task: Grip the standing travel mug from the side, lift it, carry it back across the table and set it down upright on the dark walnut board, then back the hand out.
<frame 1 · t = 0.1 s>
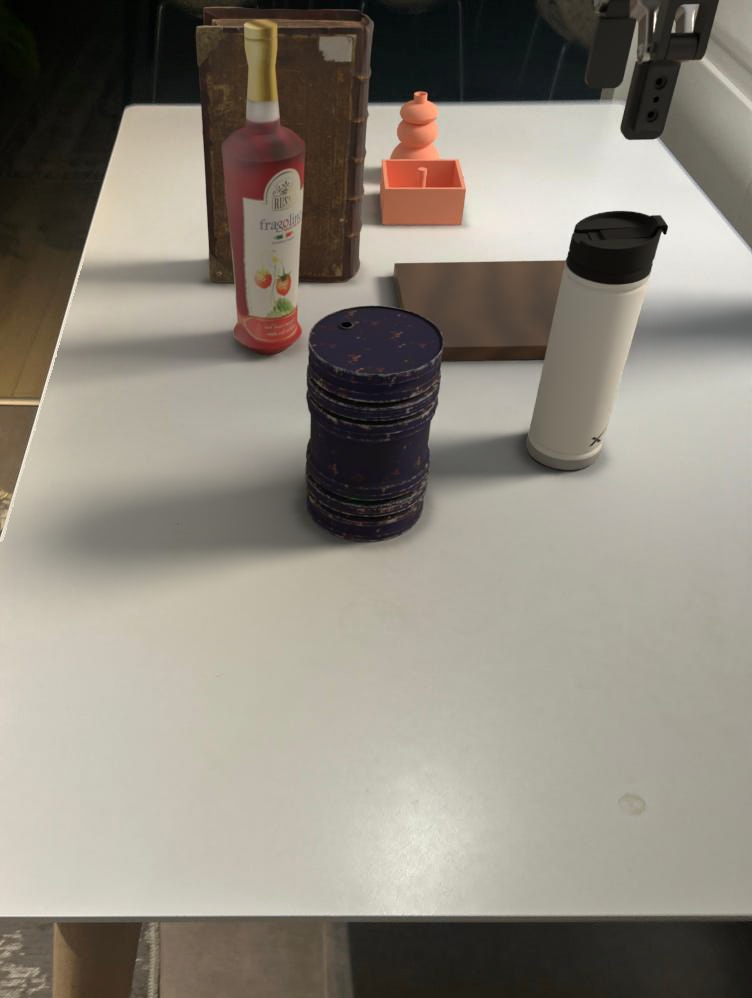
hand: (619, 110, 56), 30 cm above the table, tool pointing down, fingers open, 8 cm apart
pottery: (416, 195, 121), on the table
book: (285, 275, 107), on the table
liquor: (267, 344, 97), on the table
travel mug: (563, 451, 84), on the table
walnut board: (496, 314, 100), on the table
dark blue cylinder: (364, 505, 79), on the table
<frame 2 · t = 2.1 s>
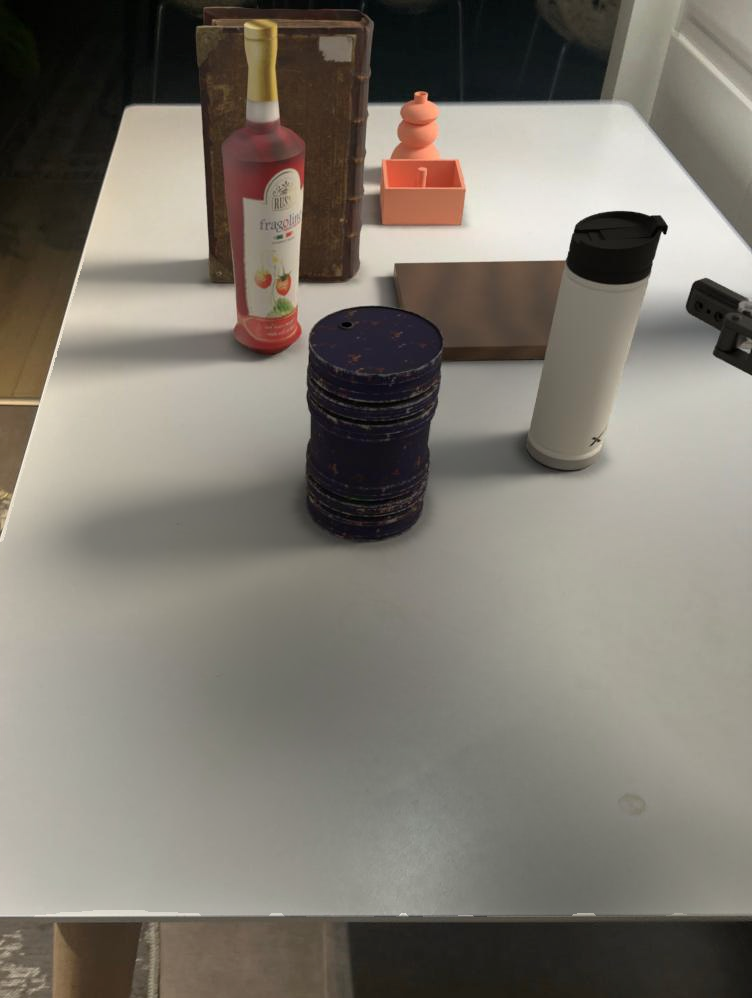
hand: (739, 277, 62), 20 cm above the table, tool horizontal, fingers open, 8 cm apart
nothing on the table moved.
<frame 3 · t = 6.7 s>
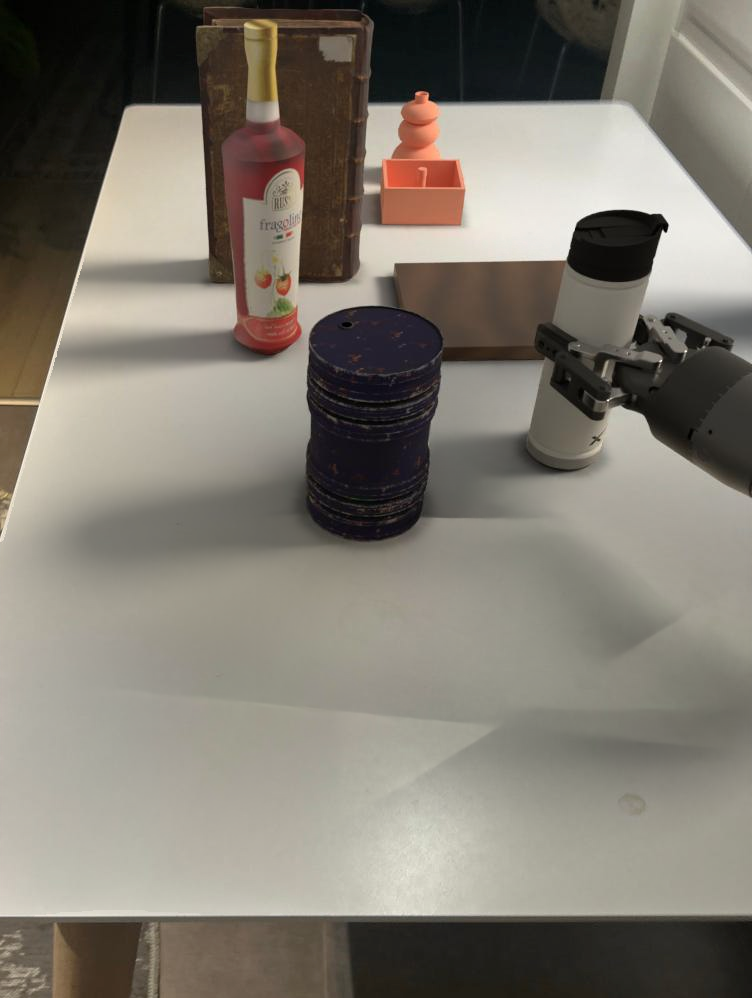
hand: (571, 322, 77), 11 cm above the table, tool horizontal, fingers closed on travel mug, 6 cm apart
travel mug: (563, 451, 84), on the table, touching gripper
everything else where it was.
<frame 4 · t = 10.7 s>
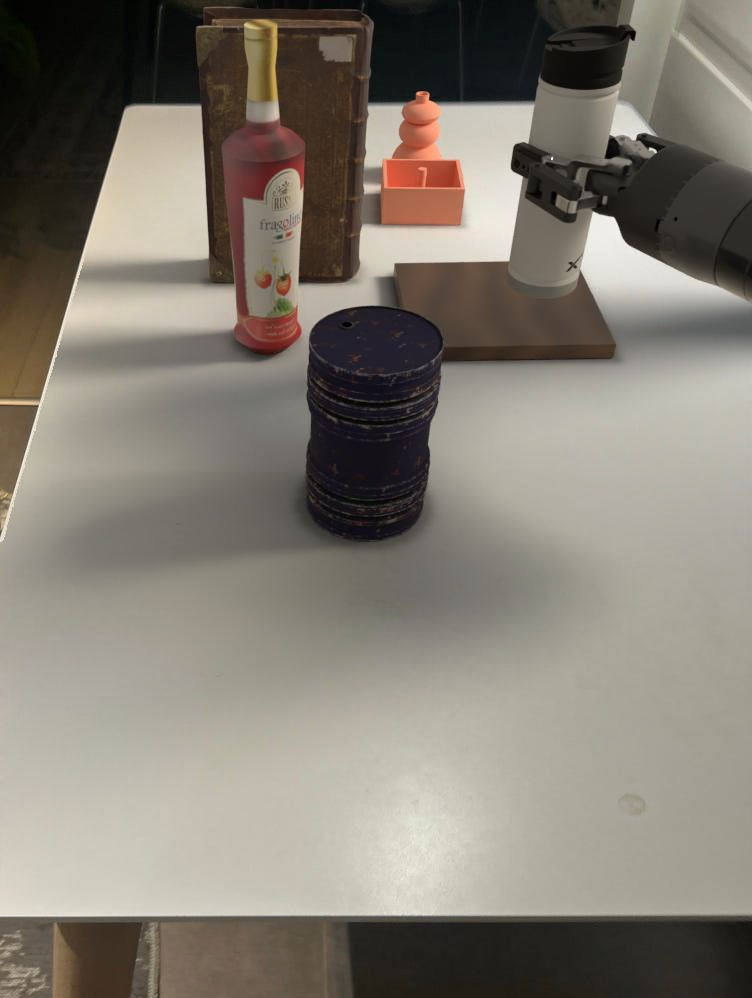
hand: (547, 147, 80), 20 cm above the table, tool horizontal, fingers closed on travel mug, 6 cm apart
travel mug: (542, 285, 86), point 8 cm above the table, touching gripper
everything else where it was.
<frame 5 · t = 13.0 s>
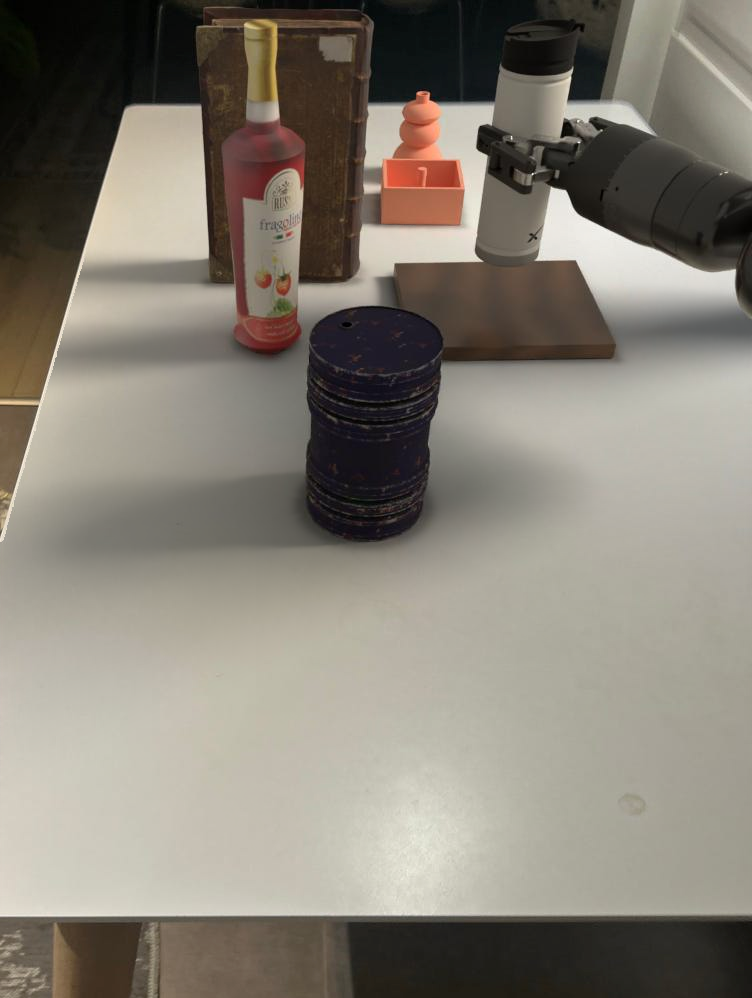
hand: (509, 129, 88), 17 cm above the table, tool horizontal, fingers closed on travel mug, 6 cm apart
travel mug: (507, 256, 95), point 6 cm above the table, touching gripper
everything else where it was.
when the fingers open (13 cm above the table, at t = 14.9 s): travel mug stays where it is, resting on walnut board.
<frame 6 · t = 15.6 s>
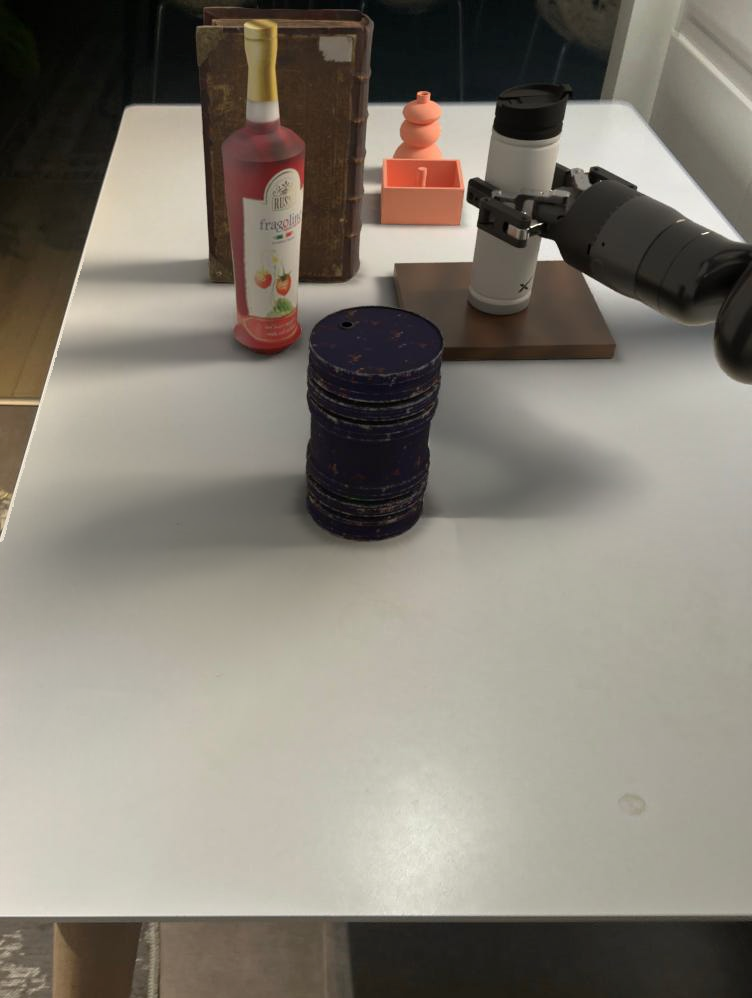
hand: (505, 178, 91), 13 cm above the table, tool horizontal, fingers open, 8 cm apart
travel mug: (499, 303, 99), point 1 cm above the table, touching walnut board
everything else where it was.
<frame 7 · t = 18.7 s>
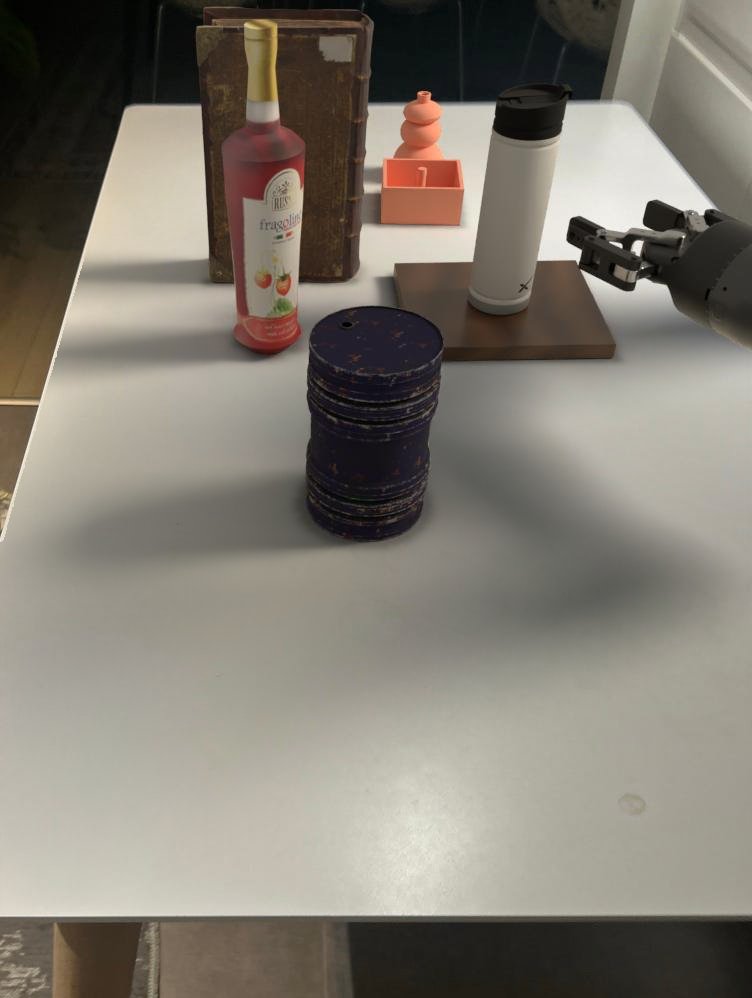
hand: (609, 219, 84), 14 cm above the table, tool horizontal, fingers open, 8 cm apart
nothing on the table moved.
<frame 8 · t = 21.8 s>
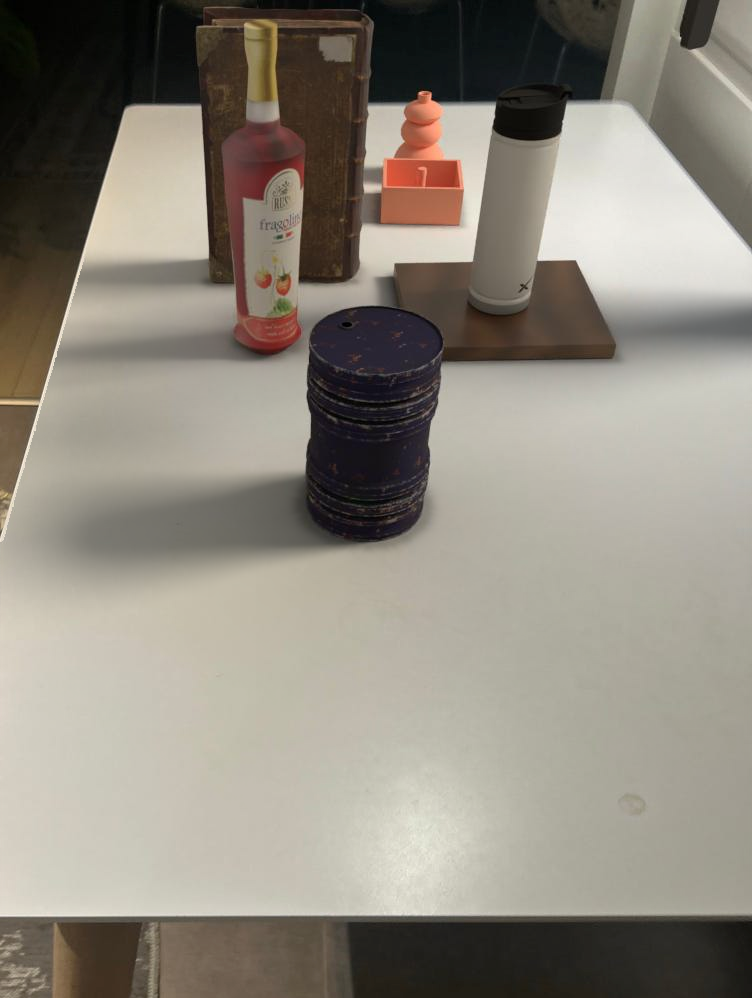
hand: (738, 62, 68), 28 cm above the table, tool pointing down, fingers open, 8 cm apart
nothing on the table moved.
at the end: travel mug inside the target area on the walnut board (0.1 cm from its centre), point 1.3 cm above the walnut board's base; travel mug tilted 0°; the gripper is holding nothing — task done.
